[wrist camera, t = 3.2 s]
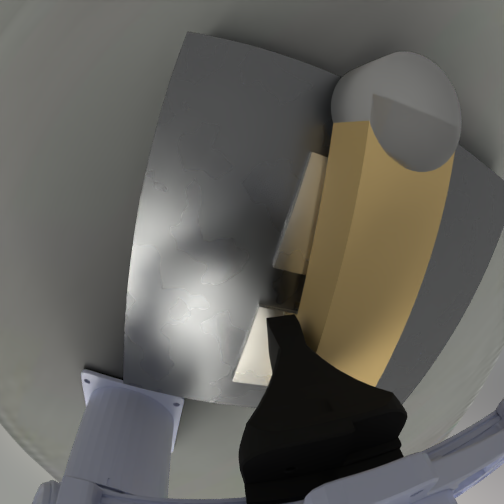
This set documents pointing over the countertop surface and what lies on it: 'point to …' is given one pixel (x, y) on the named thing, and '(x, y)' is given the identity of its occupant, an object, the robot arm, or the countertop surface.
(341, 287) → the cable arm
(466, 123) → the countertop surface
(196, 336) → the plate
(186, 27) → the countertop surface
